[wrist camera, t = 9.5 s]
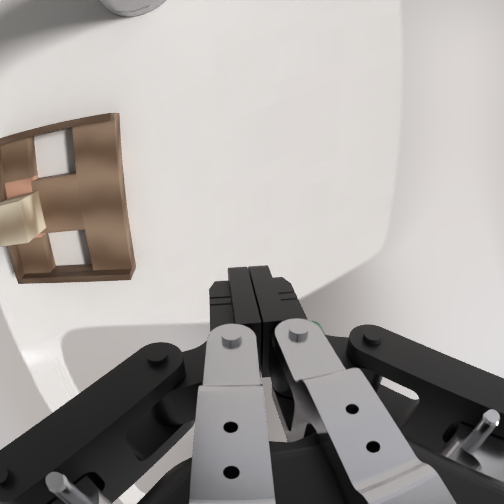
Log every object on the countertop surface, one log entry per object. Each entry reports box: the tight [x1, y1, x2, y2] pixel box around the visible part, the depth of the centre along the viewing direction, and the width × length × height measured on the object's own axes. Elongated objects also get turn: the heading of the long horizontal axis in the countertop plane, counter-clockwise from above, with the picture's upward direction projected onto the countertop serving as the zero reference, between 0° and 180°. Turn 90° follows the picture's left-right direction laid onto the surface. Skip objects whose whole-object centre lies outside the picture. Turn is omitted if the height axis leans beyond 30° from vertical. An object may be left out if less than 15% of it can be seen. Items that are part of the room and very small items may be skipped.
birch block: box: [0, 191, 46, 247], centre depth 31 cm, size 5×5×5 cm
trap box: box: [0, 113, 136, 284], centre depth 33 cm, size 20×18×4 cm
